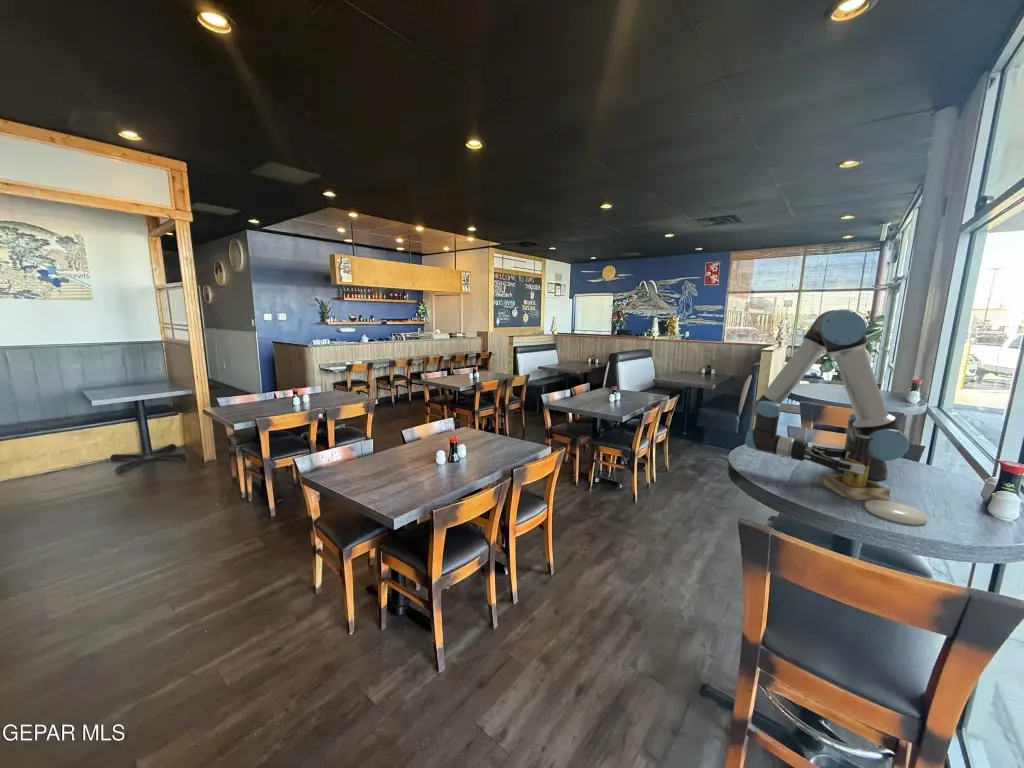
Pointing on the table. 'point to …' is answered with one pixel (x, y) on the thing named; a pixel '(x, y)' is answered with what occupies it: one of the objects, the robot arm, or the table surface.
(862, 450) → the sauce bottle
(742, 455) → the table surface
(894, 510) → the saucer
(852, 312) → the robot arm
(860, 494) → the tray
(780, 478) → the table surface
